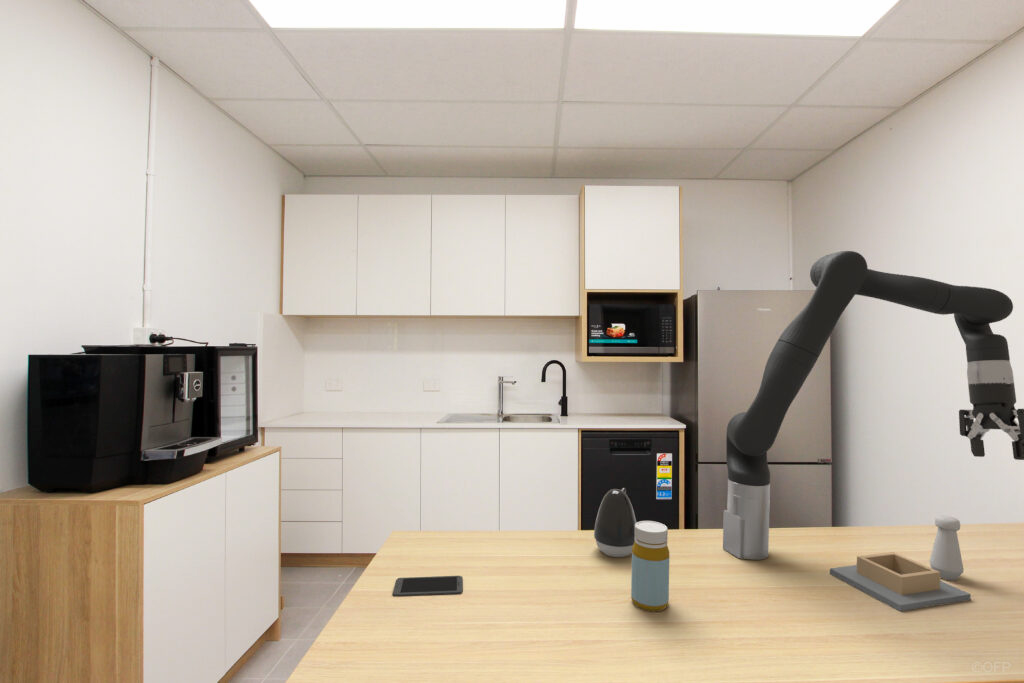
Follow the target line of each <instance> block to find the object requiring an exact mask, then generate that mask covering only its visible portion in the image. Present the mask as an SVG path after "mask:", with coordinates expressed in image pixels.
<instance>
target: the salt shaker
mask: <svg viewBox="0 0 1024 683" xmlns="http://www.w3.org/2000/svg"><path fill="white" fill-rule="evenodd" d="M960 522H961V521H960V520H959V519H958V518H956V517H952V516H950V515H944V514H943V515H941V514H940V515H937V516H935V519H934V525H935V527H936V528H937V530H936V535H935V538H934V542H933V545H932V546H933V547H932V551H931V554H930V558H929V567H930V568H932V569H934V570H937V571H939V572H940V577H941V578H940V579H942V578H944V579H943V580H945V579H946V581H952V580H956V581H957V580H958V579H959V578H960V577H961V576H962V575H963V573H964V570H965V569H964V564H963V559H962V554H961V553H962V552H961V548H960V541H959V539H958V533H957V532H958V531H959V530H960V529H961V523H960Z"/></svg>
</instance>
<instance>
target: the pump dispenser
mask: <svg viewBox="0 0 1024 683" xmlns="http://www.w3.org/2000/svg"><path fill="white" fill-rule="evenodd" d="M626 492H627V489H626V487H622V488H621V489H618V488H613V489H612V488H611V489H610V490H608V491H607V492H606V494H605V495H604V496H603V498H602V500H601V503H600V506H599V508H598V511H597V516H596V519H595V523H594V530H593V531H594V532H593V538H594V539H595V543H596V546H597V548H598V549H599V551H601V552H602V553H603V554H605V555H606V556H608V557H612V558H625V557H627V556H629V555H630V554H632V547H633V545H634V542H635V524H636V523H637V519H636V515H635V511H634V508H633V505H632V503H631V500H630V498H629V497H628V494H627V493H626Z"/></svg>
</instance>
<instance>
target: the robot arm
mask: <svg viewBox="0 0 1024 683" xmlns="http://www.w3.org/2000/svg"><path fill="white" fill-rule="evenodd" d="M809 277H810V281H811V283H812V284H813V285H814V287H815V291H814V293H813V294H812V296H811V298H810V300H809V301H808V303H807V304H806V306H805V307H803V309H802V310H801V311H800V313H799V314H797V315H796V317H795V318H794V319H793V320H792V321H791V322H790V323H789V324H788V325H787V326H786V328H785V329H784V330H783V332H782V333H781V335H779V338H778V339H777V341H776V343H775V345H774V347H773V348H772V351H771V352H770V354H769V357H768V358H767V361H766V365H765V367H764V370H763V375H762V379H761V383H760V387H759V390H758V392H757V394H756V396H755V398H754V399H753V401H752V403H751V405H750V406H749V408H747V410H746V411H744V412H739V413H737V414H735V415H734V416H732V417H731V418H730V420H729V421H728V423H727V427H726V437H725V438H726V439H725V440H726V441H725V444H726V446H725V448H726V454H725V455H726V457H725V458H726V468H727V500H726V501H727V505H726V507H727V509H724V510H723V517H722V518H723V522H722V523H723V524H722V527H723V528H722V530H723V531H722V549H723V550H725V551H726V552H728V553H730V554H731V555H733V556H734V557H736V558H738V559H746V560H756V561H758V560H759V561H760V560H763V559H764V560H765V559H767V558H768V557H769V550H770V549H769V543H770V506H771V503H770V500H771V498H770V497H771V471H770V469H769V464H768V451H769V450H770V449H771V448H772V447H773V445H774V443H775V441H776V439H777V436H778V434H779V431H780V430H781V427H782V424H783V421H784V419H785V417H786V414H787V412H788V410H789V409H790V406H791V405H792V403H793V401H794V400H795V399H796V397H797V395H798V394H799V392H800V390H801V388H802V387H803V385H804V383H805V381H806V380H807V378H808V377H809V375H810V373H811V372H812V370H813V368H814V366H815V365H816V362H817V361H818V359H819V357H820V356H821V353H822V351H823V350H824V347H825V346H826V343H827V342H828V340H829V338H830V337H831V334H832V333H833V331H834V329H835V327H836V325H837V324H838V321H839V320H840V318H841V316H842V314H843V313H844V311H845V310H846V308H847V307H848V306H849V304H850V302H851V301H852V300H853V298H855V296H862V297H868V298H873V299H877V300H882V301H885V302H889V303H894V304H897V305H900V306H904V307H907V308H910V309H911V308H912V309H916V310H918V311H919V310H920V311H922V312H927V313H931V314H935V315H943V316H944V315H953V317H954V318H953V319H954V322H955V324H956V326H957V329H958V332H959V333H960V336H961V339H962V340H963V342H964V345H965V353H966V354H965V355H966V362H967V365H966V366H967V368H966V377H967V385H968V396H969V403H970V404H972V405H973V406H972V407H973V408H972V409H959V410H958V420H959V435H960V436H962V437H966V438H968V439H969V441H970V442H969V443H970V453H971V454H972V455H973V457H976V458H977V457H979V458H984V457H985V456H986V453H985V444H984V439H983V437H984V436H985V434H986V433H988V432H989V431H990V430H1001V431H1002V432H1004V433H1006V434H1007V435H1008V436H1009V437H1010V438H1011V440H1012V441H1011V446H1012V454H1013V459H1014V460H1015V461H1024V408H1017V409H1016V407H1015V404H1016V403H1017V397H1016V396H1017V395H1016V388H1015V387H1016V386H1015V378H1014V371H1013V368H1012V364H1011V361H1010V360H1011V359H1010V351H1009V345H1008V340H1007V338H1006V337H1005V335H1001V334H998V333H994V332H993V330H992V328H991V325H990V324H993V323H998V322H1001V321H1003V320H1005V319H1007V318H1009V316H1011V315H1012V312H1013V310H1014V304H1013V301H1012V300H1011V298H1010V297H1009V296H1008V295H1007V294H1005V292H1002V291H999V290H997V289H992V288H988V287H978V286H969V285H956V284H950V283H946V282H942V281H939V280H935V279H931V278H927V277H922V276H915V275H914V276H913V275H906V274H898V273H890V272H884V271H878V270H874V269H871V268H869V267H868V263H867V261H866V259H865V257H864V255H862V254H860V253H859V252H857V251H852V250H843V251H841V250H840V251H837V252H832V253H828V254H826V255H824V256H822V257H820V258H818V259H816V261H814V263H813V264H812V265H811V267H810V271H809ZM1016 419H1017V421H1018V422H1017V421H1016Z"/></svg>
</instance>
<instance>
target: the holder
mask: <svg viewBox="0 0 1024 683" xmlns="http://www.w3.org/2000/svg"><path fill="white" fill-rule="evenodd" d="M829 574H830V575H831V576H833V577H835V578H837V579H838V580H840V581H842V582H845V583H846V584H848V585H850V586H852V587H853V588H856V589H857V590H859V591H861V592H863V593H865V594H867V595H868V596H871V597H872V598H875V599H876V600H878V601H880V602H882V603H884V604H886V605H887V606H889V607H892V609H895V610H897V611H899V612H905V611H911V610H916V608H918V609H923V608H922V607H924V608H928V607H927V606H931V607H933V606H932V605H937V606H941V605H940V604H943V605H948V603H949V604H955V602H956V603H961V601H962V602H968V601H971V600H972V599H971V597H972V595H971V593H969V592H967V591H964V590H963V589H960V588H958V587H955V586H953V585H951V584H949V583H947V582H944V581H942V580H941V578H940V572H939V571H937V570H934V569H932V568H931V566H927V565H924V564H922V563H920V562H917V561H915V560H913V559H911V558H907V557H906V556H903V555H901V554H899V553H897V552H895V551H891V552H890V551H889V552H883V553H875V554H866V555H865V554H864V555H859V556H858V555H857V556H856V564H854V565H845V566H838V567H837V566H836V567H830V568H829ZM967 600H968V601H967Z"/></svg>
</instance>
